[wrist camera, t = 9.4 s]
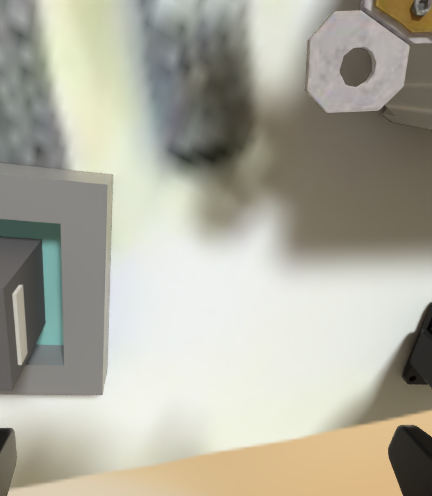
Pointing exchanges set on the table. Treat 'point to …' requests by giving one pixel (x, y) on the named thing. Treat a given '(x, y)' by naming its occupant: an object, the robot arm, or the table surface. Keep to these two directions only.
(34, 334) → the block
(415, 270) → the table surface
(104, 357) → the socket
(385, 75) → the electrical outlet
